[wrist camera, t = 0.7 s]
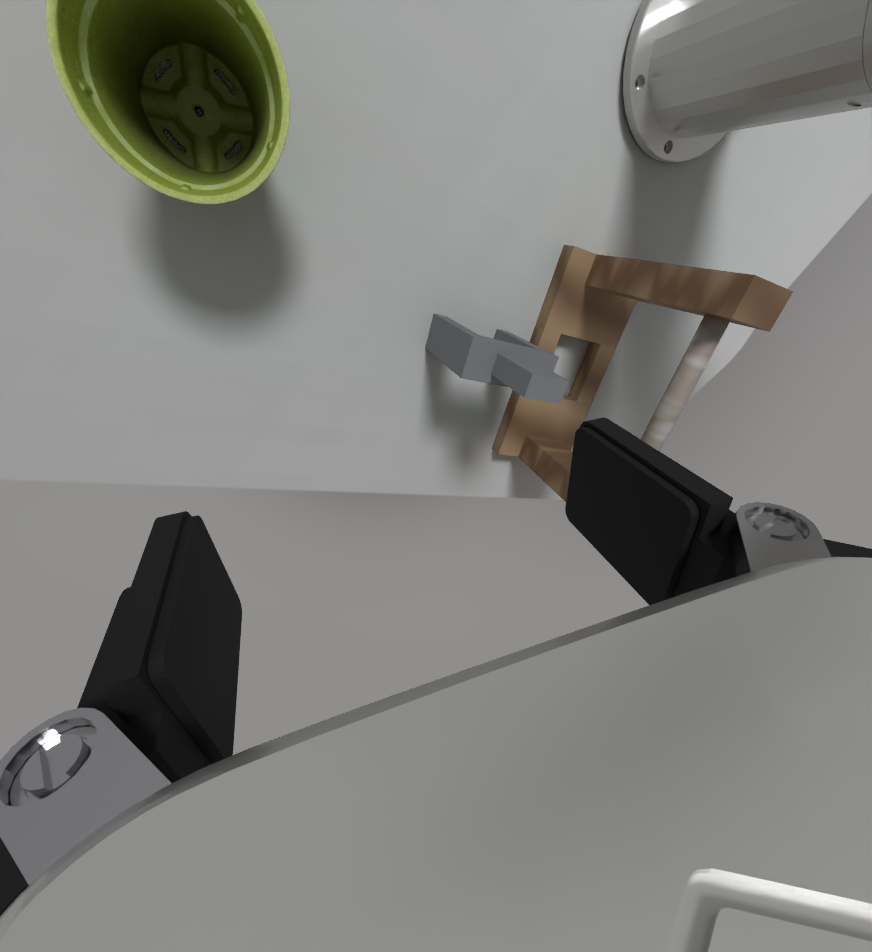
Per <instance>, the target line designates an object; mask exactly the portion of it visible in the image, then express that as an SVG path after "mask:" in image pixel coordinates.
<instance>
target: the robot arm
mask: <svg viewBox="0 0 872 952" xmlns="http://www.w3.org/2000/svg"><path fill="white" fill-rule="evenodd" d="M623 97H624V106H625V113H626V117H627V120H628V124H629V128H630V130H631V132H632V134H633V136H634V138H635V140H636V142H637V143H638V145H639V146H640V147H641V148H642V150H643V151H644V152H645V153H646V154H648V155H649V156H651V157H652V158H653V159H656V160H659V161H662V162H681V161H688V160H691V159H693V158H696V157H698V156H700V155H702V154H703V153H705V152H706V151H708V150H709V149H711V148H712V147H713V146H714V145H715V144H717V143H718V142H719V141H720V140H721V139H722V138H723V137H724V136H725V134H726V133H727V132H728V131H733V130H739V129H745V128H751V127H757V126H763V125H769V124H775V123H780V122H786V121H792V120H798V119H804V118H810V117H816V116H822V115H828V114H834V113H840V112H846V111H851V110H857V109H863V108H869V107H872V0H643V2H642V4H641V6H640V8H639V11H638V14H637V16H636V19H635V22H634V24H633V27H632V30H631V34H630V38H629V42H628V46H627V50H626V57H625V64H624V71H623ZM732 500H733V498H732V497H731V496H729V495H727V494H726V493H724V492H723V491H721V490H719V489H718V488H716V487H715V486H713V485H712V484H710V483H708V482H707V481H705V480H704V479H702V478H700V477H699V476H697V475H696V474H694V473H693V472H691V471H689V470H688V469H686V468H685V467H683V466H681V465H680V464H678V463H677V462H675V461H674V460H672V459H670V458H669V457H667V456H666V455H664V454H662V453H661V452H659V451H658V450H656V449H655V448H653V447H651V446H650V445H648V444H647V443H645V442H643V441H642V440H640V439H639V438H637V437H636V436H634V435H632V434H631V433H629V432H628V431H626V430H624V429H623V428H621V427H620V426H618V425H617V424H615V423H613V422H612V421H610V420H609V419H607V418H599V419H594V420H590V421H585V422H583V423H582V424H581V426H580V428H579V429H577V430H576V432H575V438H574V445H573V453H572V461H571V469H570V477H569V484H568V492H567V500H566V515H567V518H568V519H569V521H570V522H571V523H572V524H573V525H574V526H575V527H576V528H577V529H578V531H580V533H582V535H583V536H584V537H585V538H586V539H587V540H588V541H589V542H590V543H591V544H592V545H593V546H594V547H595V548H596V549H597V550H598V552H599V553H600V554H601V555H602V556H603V557H604V558H605V559H606V560H607V561H608V562H609V563H610V564H611V565H612V566H613V567H614V568H615V569H616V570H617V571H618V572H619V574H620V575H621V576H622V577H623V578H624V579H625V580H626V581H627V582H628V583H629V584H630V585H631V586H632V587H633V588H634V589H635V590H636V591H637V592H638V594H639V595H640V596H641V597H642V598H643V599H644V600H645V601H646V602H647V603H648V604H649V605H650V606H647V607H644V608H641V609H638V610H635V611H632V612H630V613H627V614H623V615H620V616H618V617H615V618H612V619H609V620H606V621H603V622H600V623H597V624H594V625H592V626H589V627H586V628H583V629H580V630H577V631H574V632H572V633H569V634H566V635H563V636H560V637H557V638H554V639H552V640H549V641H546V642H543V643H540V644H537V645H534V646H532V647H529V648H526V649H523V650H520V651H517V652H514V653H512V654H509V655H506V656H503V657H500V658H497V659H495V660H492V661H489V662H486V663H483V664H480V665H478V666H475V667H472V668H469V669H466V670H463V671H461V672H458V673H455V674H452V675H449V676H447V677H444V678H441V679H438V680H436V681H432V682H430V683H427V684H424V685H421V686H419V687H416V688H413V689H410V690H407V691H405V692H402V693H399V694H396V695H393V696H390V697H388V698H385V699H382V700H379V701H377V702H374V703H371V704H368V705H365V706H363V707H360V708H357V709H354V710H351V711H349V712H346V713H343V714H340V715H337V716H335V717H332V718H329V719H327V720H324V721H321V722H319V723H316V724H313V725H311V726H308V727H305V728H303V729H300V730H297V731H295V732H292V733H289V734H287V735H284V736H281V737H279V738H276V739H273V740H270V741H268V742H265V743H263V744H260V745H257V746H254V747H252V748H249V749H247V750H245V751H242V752H240V753H238V754H235V755H233V756H232V754H233V743H234V727H235V712H236V696H237V682H238V666H239V650H240V636H241V621H242V608H241V603H240V600H239V597H238V595H237V593H236V591H235V588H234V586H233V584H232V582H231V580H230V578H229V576H228V574H227V571H226V569H225V567H224V565H223V563H222V561H221V559H220V557H219V555H218V552H217V550H216V548H215V546H214V544H213V542H212V540H211V537H210V535H209V533H208V531H207V529H206V527H205V525H204V522H203V520H202V519H201V517H200V516H193V517H192V516H191V515H190V514H189V513H188V512H186V511H185V512H181V513H176V514H172V515H167V516H163V517H159V518H157V519H156V520H155V522H154V525H153V528H152V530H151V533H150V536H149V538H148V541H147V544H146V547H145V549H144V552H143V555H142V558H141V561H140V563H139V566H138V569H137V572H136V574H135V577H134V580H133V583H132V585H131V587H129V588H127V589H125V590H124V591H123V592H122V594H121V596H120V597H119V600H118V603H117V605H116V608H115V610H114V613H113V616H112V618H111V621H110V624H109V626H108V629H107V631H106V634H105V637H104V639H103V642H102V645H101V647H100V650H99V652H98V655H97V658H96V660H95V663H94V666H93V668H92V671H91V673H90V676H89V679H88V681H87V684H86V687H85V689H84V692H83V695H82V697H81V700H80V702H79V706H78V708H77V709H74V710H69V711H65V712H63V713H61V714H59V715H56V716H54V717H52V718H50V719H48V720H46V721H45V722H43V723H41V724H40V725H38V726H37V727H35V728H34V729H32V730H31V731H29V732H28V733H27V734H26V735H25V736H24V737H23V738H21V739H20V740H19V741H18V742H17V743H16V744H15V745H14V746H12V747H11V749H10V750H9V751H8V752H7V754H6V755H5V756H4V757H3V758H2V759H1V761H0V952H872V549H868V548H864V547H859V546H855V545H850V544H845V543H840V542H835V541H830V540H825V539H823V538H822V536H821V534H820V532H819V530H818V529H817V527H816V526H815V525H814V523H813V522H812V521H810V520H809V519H808V518H806V517H805V516H803V515H802V514H800V513H798V512H796V511H794V510H791V509H789V508H786V507H783V506H780V505H775V504H771V503H761V502H755V503H748V504H745V505H742V506H740V508H739V509H738V510H737V511H736V514H735V513H733V512H732V511H730V510H729V507H730V505H731V502H732Z"/></svg>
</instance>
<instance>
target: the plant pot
mask: <svg viewBox="0 0 872 952" xmlns="http://www.w3.org/2000/svg"><path fill="white" fill-rule="evenodd" d="M46 27H47V36H48V42H49V47H50V52H51V56H52V59H53V63H54V66H55V69H56V72H57V75H58V77H59V80H60V83H61V85H62V87H63V89H64V91H65V93H66V96H67V98H68V100H69V102H70V103H71V105H72V107H73V109H74V111H75V112H76V114H77V116H78V117H79V119H80V120H81V122H82V123H83V125H84V126H85V128H86V129H87V131H88V132H89V133H90V134H91V136H92V137H93V138H94V139H95V141H96V142H97V143H98V144H99V145H100V146H101V147H102V149H103V150H104V151H105V152H106V153H107V154H108V155H109V156H110V157H111V158H112V159H113V160H114V161H115V162H117V163H118V164H119V165H120V166H121V167H122V168H123V169H125V170H126V171H127V172H128V173H130V174H131V175H132V176H134V177H135V178H136V179H138V180H140V181H141V182H143V183H144V184H146V185H147V186H149V187H151V188H153V189H155V190H156V191H158V192H160V193H163V194H165V195H167V196H170V197H173V198H176V199H179V200H183V201H187V202H192V203H198V204H221V203H227V202H231V201H235V200H237V199H240V198H242V197H244V196H246V195H248V194H250V193H251V192H253V191H254V190H255V189H257V188H258V187H259V186H260V185H261V184H262V183H263V182H264V181H265V180H266V179H267V178H268V177H269V175H270V174H271V173H272V171H273V170H274V168H275V166H276V165H277V163H278V161H279V158H280V156H281V154H282V151H283V149H284V146H285V142H286V138H287V134H288V128H289V118H290V96H289V86H288V80H287V75H286V70H285V66H284V62H283V59H282V56H281V53H280V50H279V47H278V44H277V42H276V39H275V37H274V34H273V32H272V30H271V28H270V26H269V24H268V22H267V20H266V18H265V16H264V15H263V13H262V11H261V10H260V8H259V7H258V5H257V4H256V2H255V0H47V1H46ZM164 60H170V61H171V62H172V67H171V68H169V69H168V70H167V71H165V72H164V74H163V75H162V77H161V78H160V77H159V80H158V81H156V80H155V79H156V78H155V73H156V70H157V67H158V66H159V64H160V63H162V62H163V61H164ZM214 70H220V71H221V72H222V73H223V74H224V75H225V76H226V78H227V79H228V80H229V81H230V82H231V83H232V85H233V87H234V90H235V94H234V95H233V94H231V92H230V91H229V89H228V88H227V86H226V85H225V83H224V82H223V81H222V80H221V79H220V77H218V76H217V75H216V73H215V72H214ZM196 105H197V106H200V107H201V108H202V109H203V111H204V115H203V116H198V115H197V114H196V113H195V110H194V108H195V106H196ZM164 129H167V130H168V131H169V132H170V134H171V135H172V136H173V137H174V138H175V139H176V141H178V142H179V144H180V145H181V146H183V147H184V148H185V149H186V152H181V151H180V150H179V149H178V148H177V147H176V146H175V145H174V144H172V143H171V142H170V141H169V140H168V139H167V138H166V136H165V134H164ZM236 141H240V142H241V148H240V150H239V151H238V152H237V153H236V154H235V155H234V156H233V157H232V158H230V159H226V158H225V157H224V154H225V153H227V152H228V151H229V150H230V149H231V148H232V147H233V146H234V145H235V142H236Z"/></svg>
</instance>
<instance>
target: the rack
mask: <svg viewBox="0 0 872 952" xmlns="http://www.w3.org/2000/svg"><path fill="white" fill-rule="evenodd" d="M792 293H793V292H792V291H790V290H788V289H786V288H783V287H781V286H779V285H776V284H774V283H772V282H769V281H767V280H765V279H763V278H760V277H758V276H756V275H749V274H742V273H734V272H727V271H719V270H711V269H704V268H696V267H688V266H681V265H673V264H665V263H658V262H650V261H643V260H635V259H627V258H620V257H612V256H604V255H597V254H594V253H591V252H589V251H586V250H583V249H580V248H578V247H575V246H568V245H564V247H563V250H562V253H561V256H560V259H559V261H558V264H557V267H556V270H555V273H554V275H553V278H552V281H551V284H550V287H549V290H548V292H547V295H546V298H545V301H544V304H543V307H542V309H541V312H540V315H539V318H538V321H537V323H536V326H535V329H534V332H533V335H532V338H531V340H530V343H532V344H534V345H536V346H538V347H540V348H542V349H544V350H546V351H548V352H550V353H552V354H554V351H555V349H556V346H557V343H558V341H559V338H560V335H561V334H564V335H567V336H571V337H575V338H579V339H583V340H587V341H591V343H590V345H589V348H588V350H587V353H586V355H585V358H584V360H583V362H582V365H581V367H580V370H579V372H578V374H577V377H576V379H575V382H574V384H573V386H572V389H571V391H570V394H569V396H563V398H562V401H561V403H560V404H558V403H553V402H547V401H541V400H535V399H530V398H524V397H523V396H521V395H520V394H518V393H517V392H516V391H514V390H513V391H512V394H511V397H510V400H509V402H508V405H507V408H506V411H505V414H504V417H503V419H502V422H501V425H500V428H499V431H498V434H497V436H496V439H495V442H494V445H493V449H494V450H495V451H496V452H497V454H498V455H508V456H517V457H519V458H520V459H521V460H522V461H523V462H524V463H525V464H526V465H528V466H529V467H530V468H531V469H532V470H533V471H534V472H535V473H536V474H537V475H538V476H539V477H540V478H541V479H542V480H543V481H544V482H545V483H546V484H547V485H548V486H550V487H551V488H552V489H553V490H554V491H555V492H556V493H557V494H558V495H559V496H560V497H561V498H562V499H563V500H564V501H565V502H566V500H567V492H568V484H569V477H570V469H571V461H572V453H573V452H572V451H571V448H572V446H573V444H574V438H575V432H576V430H577V429H579V428H580V426H581V424H582V423H583V421H584V419H585V417H586V414H587V412H588V410H589V408H590V405H591V403H592V401H593V398H594V396H595V394H596V392H597V389H598V387H599V385H600V383H601V380H602V378H603V376H604V374H605V371H606V369H607V367H608V365H609V362H610V360H611V358H612V356H613V353H614V351H615V349H616V347H617V344H618V342H619V340H620V338H621V335H622V333H623V331H624V328H625V326H626V324H627V322H628V319H629V317H630V315H631V313H632V310H633V308H634V306H635V304H636V301H637V300H639V301H643V302H647V303H651V304H656V305H660V306H664V307H668V308H672V309H677V310H681V311H685V312H689V313H693V314H698V315H702V316H704V318H703V320H702V322H701V323H700V325H699V327H698V329H697V331H696V333H695V335H694V337H693V339H692V341H691V343H690V345H689V347H688V349H687V351H686V353H685V355H684V356H683V358H682V360H681V362H680V364H679V366H678V368H677V370H676V372H675V374H674V376H673V378H672V380H671V382H670V384H669V386H668V388H667V389H666V391H665V393H664V395H663V397H662V399H661V401H660V403H659V405H658V407H657V409H656V411H655V413H654V415H653V417H652V419H651V421H650V422H649V424H648V426H647V428H646V430H645V432H644V434H643V436H642V438H641V440H642V441H643V442H645V443H647V444H648V445H650V446H651V447H653V448H655V449H656V450H658V451H660V449H661V447H662V446H663V444H664V442H665V440H666V438H667V436H668V434H669V433H670V431H671V429H672V427H673V425H674V424H675V422H676V420H677V418H678V416H679V414H680V412H681V411H682V409H683V407H684V405H685V403H686V401H687V400H688V398H689V396H690V394H691V392H692V390H693V389H694V387H695V385H696V383H697V381H698V379H699V378H700V376H701V374H702V372H703V370H704V368H705V366H706V365H707V363H708V361H709V359H710V357H711V355H712V354H713V352H714V350H715V348H716V346H717V344H718V343H719V341H720V339H721V337H722V335H723V333H724V331H725V330H726V328H727V326H728V324H729V322H731V323H735V324H740V325H744V326H748V327H752V328H757V329H761V330H765V331H770V330H771V328H772V327H773V325H774V323H775V322H776V320H777V318H778V316H779V315H780V313H781V311H782V310H783V308H784V306H785V305H786V303H787V301H788V299H789V298H790V296H791V294H792Z"/></svg>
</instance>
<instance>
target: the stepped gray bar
mask: <svg viewBox="0 0 872 952" xmlns="http://www.w3.org/2000/svg"><path fill="white" fill-rule="evenodd" d="M426 349H427V350H428V351H429V352H430V353H432V354H433V355H434V356H435V357H436V358H438V359H439V360H440V361H441V362H442V363H444V364H445V365H446V366H447V367H448V368H450V369H451V370H452V371H453V372H454V373H456V374H457V375H458V376H459V377H460V378H463V379H469V380H474V381H479V382H485V383H490V384H496V385H501V386H507V387H510V388H511V389H513V390H514V391H516V392H517V393H518V394H520V395H521V396H523V397H524V398H530V399H535V400H541V401H547V402H553V403H558V404H560V403H561V401H562V398H563V396H564V393H565V391H566V388H567V386H568V384H569V381H568V380H566V379H564V378H562V377H561V376H559V375H557V374H555V373H553V370H554V368H555V365H556V363H557V360H558V358H559V357H558V356H556V355H554V354H552V353H550V352H548V351H546V350H544V349H542V348H540V347H538V346H536V345H534V344H532V343H530V342H528V341H526V340H524V339H521V338H519V337H517V336H515V335H513V334H511V333H509V332H506V331H502V330H498V329H497V331H496V334H495V337H494V339H492V338H488V337H484V336H479V335H478V334H476V333H474V332H472V331H471V330H469V329H467V328H465V327H464V326H462V325H460V324H458V323H457V322H455V321H453V320H451V319H450V318H448V317H446V316H441V315H437V314H434V316H433V320H432V324H431V328H430V332H429V336H428V340H427V344H426Z"/></svg>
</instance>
